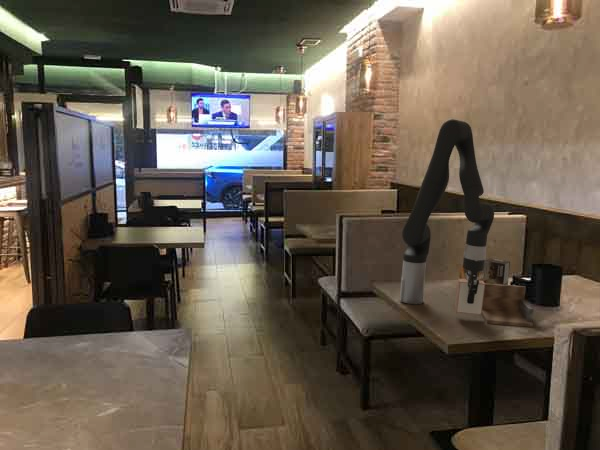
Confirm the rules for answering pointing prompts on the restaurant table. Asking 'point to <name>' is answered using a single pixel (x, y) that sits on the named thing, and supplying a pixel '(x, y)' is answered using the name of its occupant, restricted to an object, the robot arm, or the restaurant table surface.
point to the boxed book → (462, 296)
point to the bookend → (506, 305)
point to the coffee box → (496, 271)
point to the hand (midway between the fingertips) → (469, 301)
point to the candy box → (463, 273)
